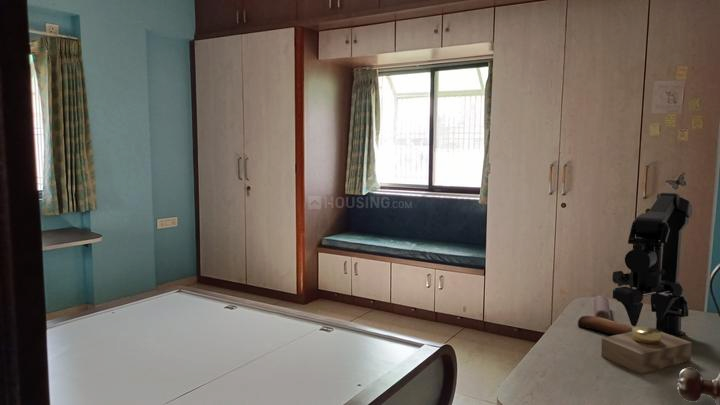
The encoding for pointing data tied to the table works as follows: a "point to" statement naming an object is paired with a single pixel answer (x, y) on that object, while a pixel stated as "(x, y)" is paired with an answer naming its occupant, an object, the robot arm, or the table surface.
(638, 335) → the gold shiny rounded part
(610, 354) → the socket block
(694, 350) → the table surface
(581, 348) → the table surface
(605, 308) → the pale lilac cylinder
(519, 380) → the table surface
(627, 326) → the sunglasses case
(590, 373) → the table surface
